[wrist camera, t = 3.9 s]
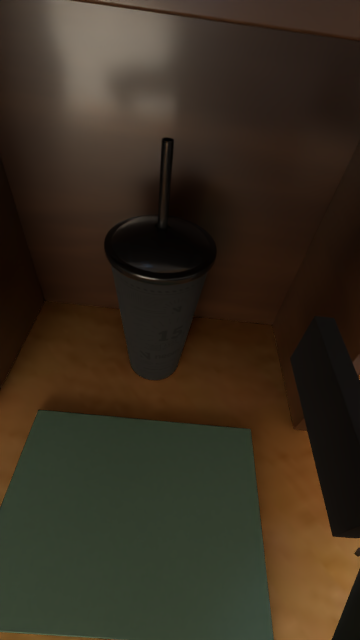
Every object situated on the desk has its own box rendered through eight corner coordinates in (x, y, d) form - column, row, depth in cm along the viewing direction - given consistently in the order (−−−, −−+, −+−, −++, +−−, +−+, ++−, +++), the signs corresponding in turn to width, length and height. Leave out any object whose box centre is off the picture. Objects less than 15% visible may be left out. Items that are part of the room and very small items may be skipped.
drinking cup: (100, 351, 31) (67, 124, 16) (162, 320, 35) (180, 112, 20) (142, 409, 27) (147, 182, 13) (207, 368, 31) (269, 155, 16)
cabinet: (306, 431, 27) (693, 26, 8) (-21, 400, 26) (-438, -144, 7) (280, 318, 37) (434, 6, 18) (38, 292, 36) (-77, -70, 17)
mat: (272, 649, 18) (275, 649, 18) (-44, 628, 17) (-48, 628, 17) (249, 431, 27) (250, 428, 27) (39, 412, 26) (38, 409, 26)
